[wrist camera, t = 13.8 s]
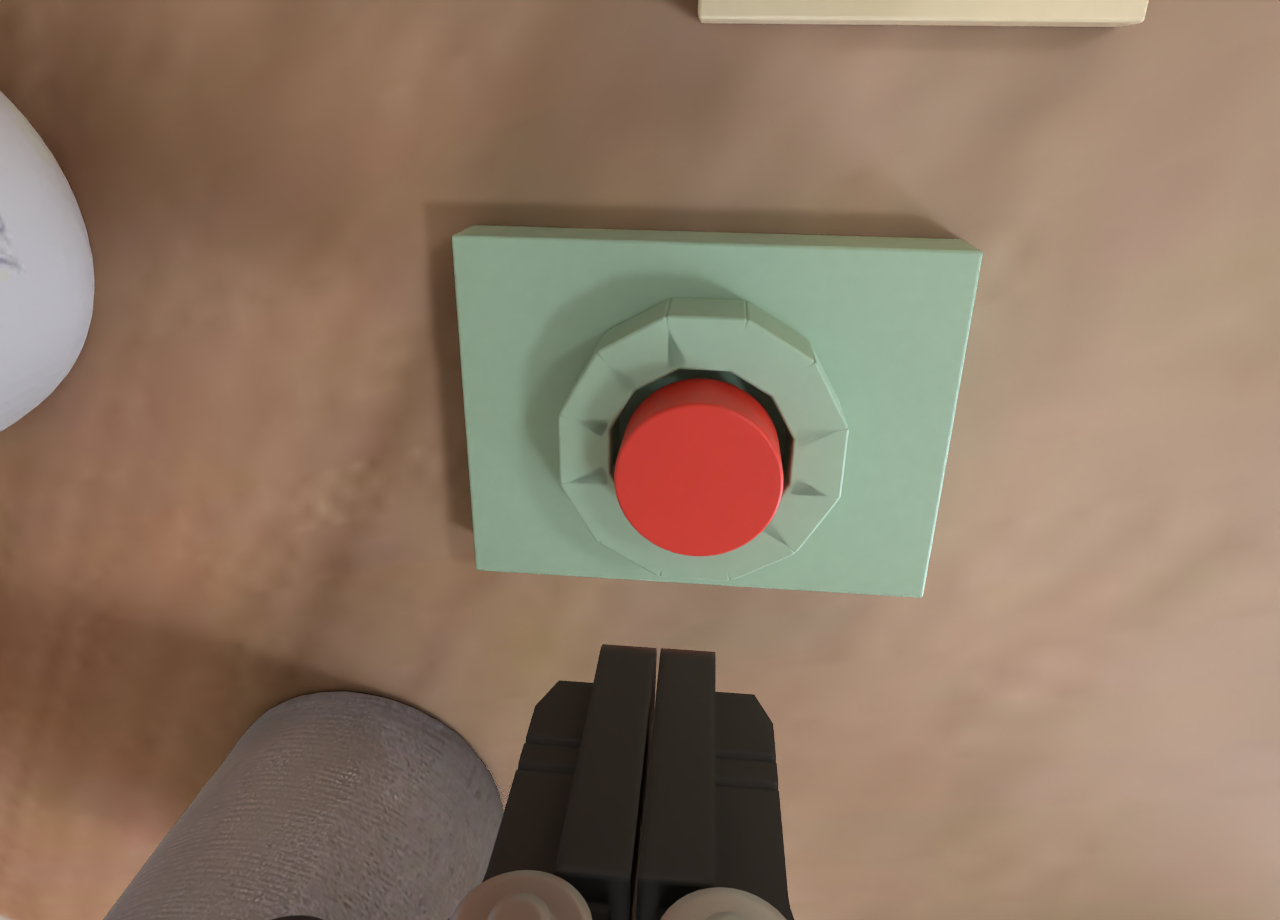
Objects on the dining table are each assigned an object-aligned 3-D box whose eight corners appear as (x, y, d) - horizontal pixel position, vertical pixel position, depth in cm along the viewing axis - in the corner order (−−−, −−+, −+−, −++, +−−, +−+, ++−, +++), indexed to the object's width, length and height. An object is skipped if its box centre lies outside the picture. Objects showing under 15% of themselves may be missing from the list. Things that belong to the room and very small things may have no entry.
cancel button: (622, 516, 20) (613, 553, 19) (623, 373, 19) (613, 399, 17) (772, 525, 20) (776, 562, 18) (785, 381, 19) (791, 407, 17)
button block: (490, 541, 25) (455, 608, 21) (470, 224, 21) (424, 247, 18) (910, 566, 24) (939, 640, 20) (964, 238, 20) (1009, 266, 17)
